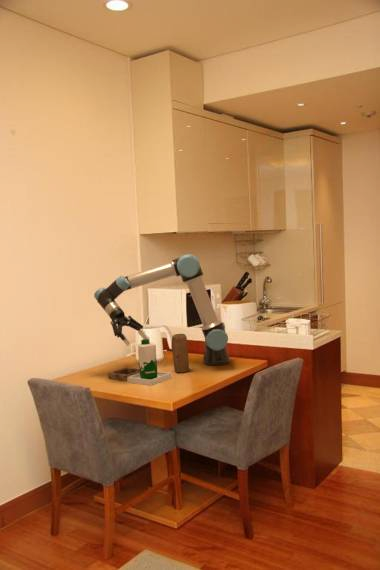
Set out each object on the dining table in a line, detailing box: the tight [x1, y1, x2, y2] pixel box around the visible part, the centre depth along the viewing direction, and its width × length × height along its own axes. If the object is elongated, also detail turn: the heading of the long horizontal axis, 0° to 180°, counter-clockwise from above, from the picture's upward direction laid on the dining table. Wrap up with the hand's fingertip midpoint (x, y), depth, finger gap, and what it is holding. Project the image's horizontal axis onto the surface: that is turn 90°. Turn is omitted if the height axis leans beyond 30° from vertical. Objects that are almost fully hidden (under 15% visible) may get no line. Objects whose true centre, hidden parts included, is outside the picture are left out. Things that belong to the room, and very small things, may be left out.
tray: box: [126, 370, 173, 386], centre depth 279 cm, size 16×16×3 cm
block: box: [171, 333, 190, 373], centre depth 293 cm, size 11×8×20 cm
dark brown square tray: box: [108, 366, 140, 382], centre depth 288 cm, size 14×14×3 cm
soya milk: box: [137, 338, 158, 380], centre depth 278 cm, size 9×9×20 cm
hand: (138, 341), depth 280 cm, fingers open, 13 cm apart
